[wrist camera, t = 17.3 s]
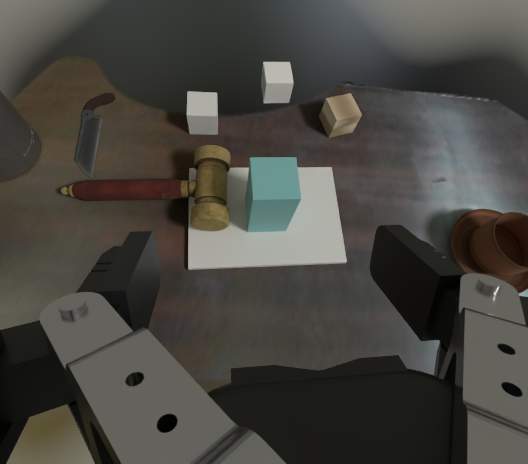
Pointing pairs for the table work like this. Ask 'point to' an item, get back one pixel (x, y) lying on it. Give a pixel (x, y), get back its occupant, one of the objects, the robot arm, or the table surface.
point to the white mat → (272, 243)
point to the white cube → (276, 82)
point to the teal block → (272, 193)
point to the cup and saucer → (493, 245)
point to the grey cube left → (202, 113)
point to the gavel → (174, 189)
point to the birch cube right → (339, 115)
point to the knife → (90, 134)
